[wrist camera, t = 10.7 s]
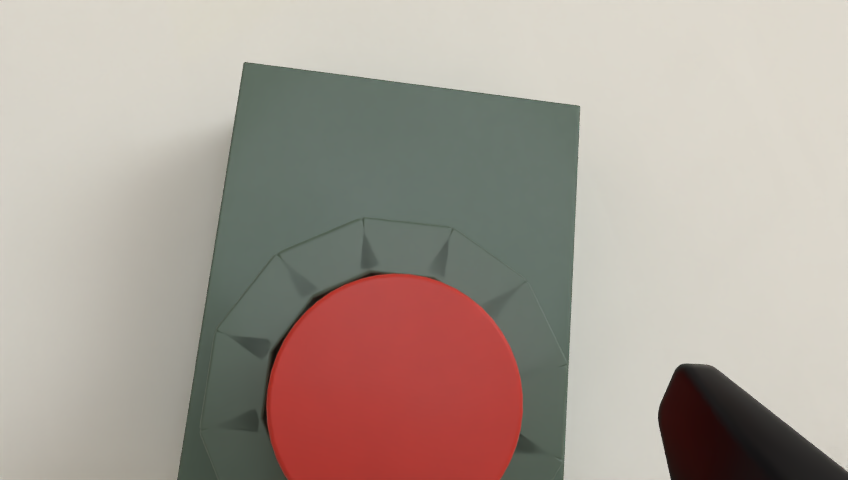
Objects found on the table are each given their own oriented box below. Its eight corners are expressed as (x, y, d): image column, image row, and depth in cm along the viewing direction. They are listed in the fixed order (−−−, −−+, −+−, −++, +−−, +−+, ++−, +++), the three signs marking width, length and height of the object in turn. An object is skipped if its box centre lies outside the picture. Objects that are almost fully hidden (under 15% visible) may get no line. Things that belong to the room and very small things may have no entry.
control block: (523, 534, 19) (600, 607, 13) (201, 510, 18) (127, 576, 12) (545, 147, 21) (618, 61, 15) (261, 111, 20) (224, 6, 15)
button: (485, 516, 13) (516, 548, 11) (267, 499, 13) (247, 529, 11) (500, 301, 14) (531, 286, 12) (296, 280, 14) (284, 260, 11)
